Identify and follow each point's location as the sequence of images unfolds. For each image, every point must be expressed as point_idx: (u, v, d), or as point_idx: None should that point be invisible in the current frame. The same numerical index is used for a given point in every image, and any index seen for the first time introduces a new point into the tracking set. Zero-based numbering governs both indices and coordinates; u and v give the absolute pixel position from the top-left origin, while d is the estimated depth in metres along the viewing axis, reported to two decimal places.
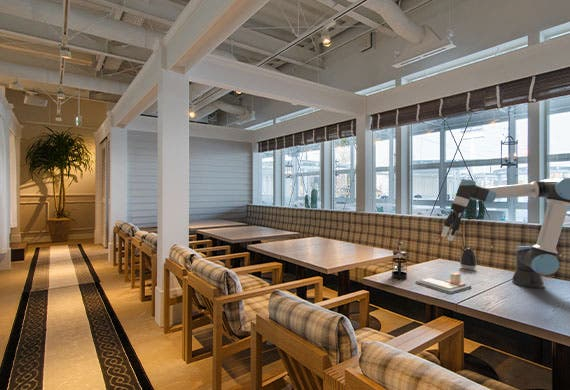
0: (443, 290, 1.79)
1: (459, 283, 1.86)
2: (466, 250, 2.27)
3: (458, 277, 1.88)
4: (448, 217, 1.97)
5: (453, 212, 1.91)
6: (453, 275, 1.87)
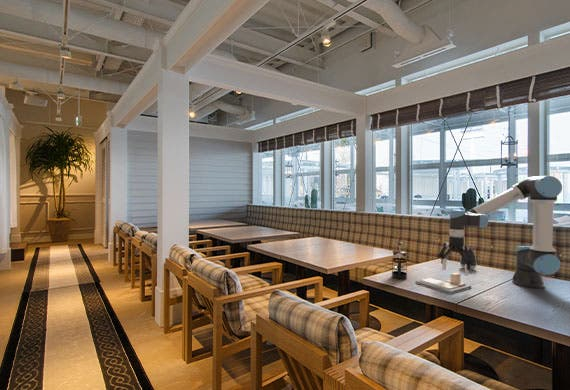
0: (443, 290, 1.79)
1: (459, 283, 1.86)
2: None
3: (458, 277, 1.88)
4: (443, 249, 1.93)
5: (452, 245, 1.89)
6: (453, 275, 1.87)
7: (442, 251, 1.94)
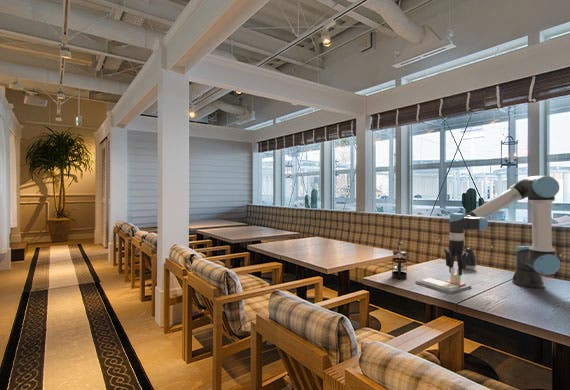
0: (443, 290, 1.79)
1: (459, 283, 1.86)
2: (466, 250, 2.27)
3: None
4: (447, 256, 1.92)
5: (452, 247, 1.89)
6: (453, 275, 1.87)
7: (447, 258, 1.92)
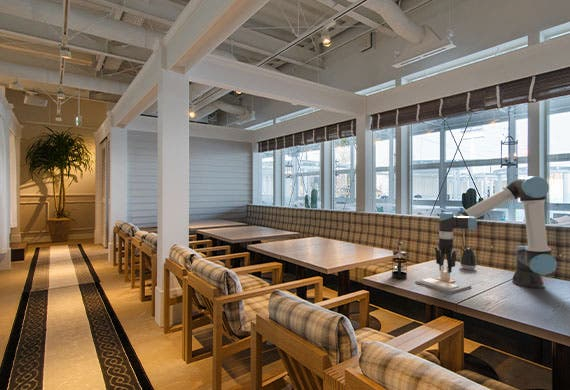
0: (443, 290, 1.79)
1: (449, 280, 1.91)
2: (466, 250, 2.27)
3: None
4: (437, 254, 1.97)
5: (442, 245, 1.94)
6: (443, 272, 1.93)
7: (437, 256, 1.97)
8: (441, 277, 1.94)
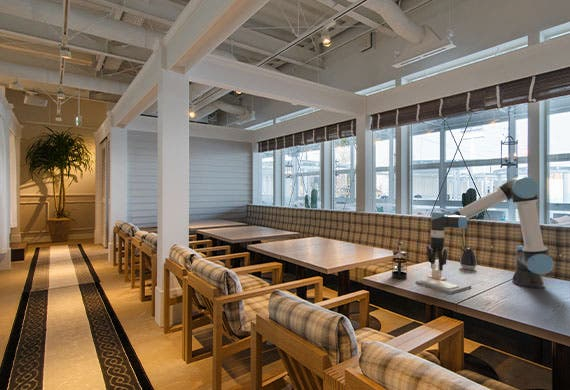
0: (443, 290, 1.79)
1: (440, 278, 1.96)
2: (466, 250, 2.27)
3: None
4: (429, 252, 2.02)
5: (433, 243, 1.99)
6: (434, 270, 1.97)
7: (429, 254, 2.02)
8: (432, 275, 1.98)
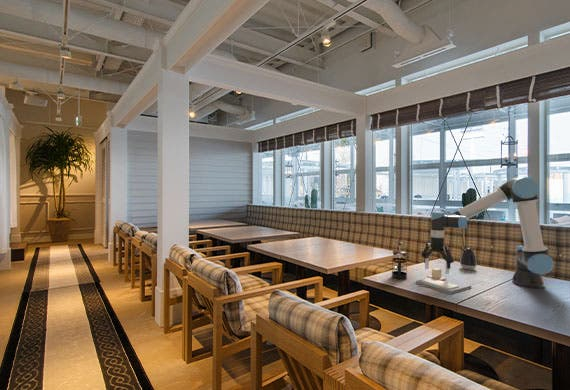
0: (443, 290, 1.79)
1: (440, 278, 1.96)
2: (466, 250, 2.27)
3: (439, 272, 1.98)
4: (426, 249, 2.04)
5: (434, 245, 1.99)
6: (434, 270, 1.97)
7: (424, 251, 2.04)
8: (432, 275, 1.98)
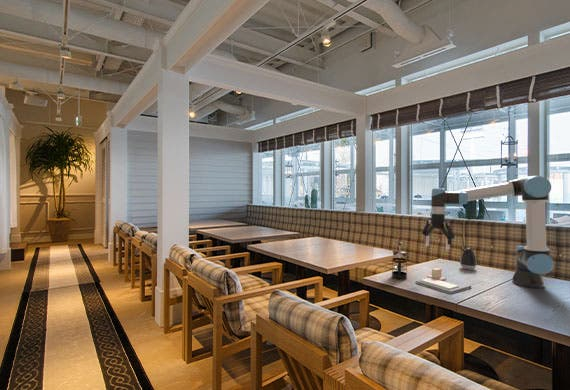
0: (443, 290, 1.79)
1: (440, 278, 1.96)
2: (466, 250, 2.27)
3: (439, 272, 1.98)
4: (426, 227, 2.03)
5: (434, 222, 1.99)
6: (434, 270, 1.97)
7: (425, 228, 2.04)
8: (432, 275, 1.98)
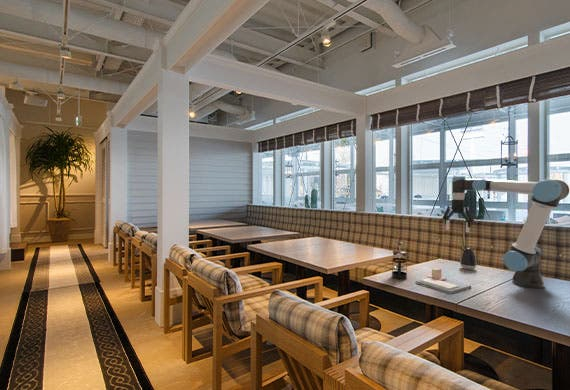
0: (443, 290, 1.79)
1: (440, 278, 1.96)
2: (466, 250, 2.27)
3: (439, 272, 1.98)
4: (447, 212, 2.20)
5: (455, 207, 2.15)
6: (434, 270, 1.97)
7: (446, 213, 2.21)
8: (432, 275, 1.98)
